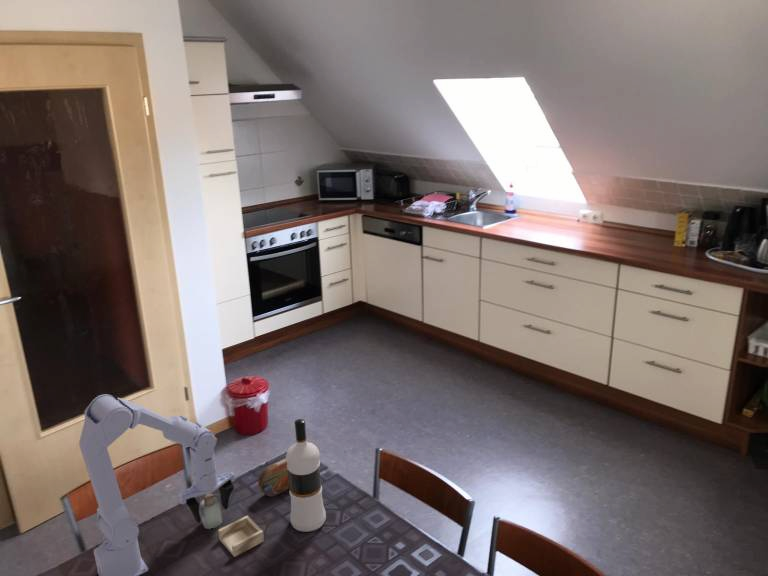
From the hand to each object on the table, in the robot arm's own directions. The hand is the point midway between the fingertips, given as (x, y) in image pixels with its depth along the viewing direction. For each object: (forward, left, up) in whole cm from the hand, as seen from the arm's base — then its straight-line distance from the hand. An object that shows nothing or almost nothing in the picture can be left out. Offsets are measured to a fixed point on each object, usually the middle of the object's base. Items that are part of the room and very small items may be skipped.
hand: (211, 513), depth 162 cm
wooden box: (+2, -12, -3) cm, 12 cm away
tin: (+22, 0, -3) cm, 22 cm away
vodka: (+19, -17, -3) cm, 26 cm away
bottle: (0, 0, -3) cm, 3 cm away
